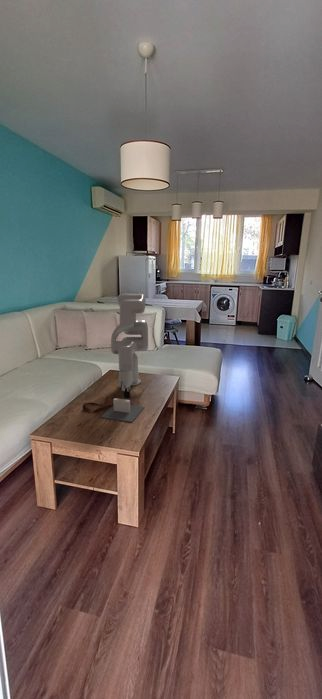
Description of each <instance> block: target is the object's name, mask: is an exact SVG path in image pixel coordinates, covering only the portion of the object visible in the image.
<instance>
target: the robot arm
mask: <svg viewBox="0 0 322 699" xmlns="http://www.w3.org/2000/svg"><path fill="white" fill-rule="evenodd" d="M117 304H118V306H119V324H118V325H117V326H116V328H115V329H114V330H113V331H112V333H111V340H110V350H111V353H112V354H113V355H118V388H119V389H120V388H121V392H123V399H129V398H131V387H132V386H137V385H140V383H141V382H142V380H141V378H139V376H140V373H139V357H138V355H137V353H136V352H146V351H148V349H149V326H148V322H147V321H146V320H143V319H137V315H139V314H140V315H141V314H143V313H145V311H146V310H145V309H146V296H145V294H143V293H121V294H119V295H118V296H117ZM121 333H124V335H128V336H125V337H123V338H122V340H117V339H118V336H120V335H121ZM133 335H134V336H133ZM135 335H136V336H135Z"/></svg>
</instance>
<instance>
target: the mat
mask: <svg viewBox="0 0 322 699" xmlns="http://www.w3.org/2000/svg"><path fill="white" fill-rule="evenodd" d="M130 409H131V411H130V412H129V413H127V412H120V411H114V405H113V406H110V407H108V409H107V410H106V411H105V412H103V414H102V415H101V416H100V419H105V420H112V421H119V422H126V423H131V424H133V422H134V421H135V420H136V418H138V417H139V415H140V414H141V413H142V412H143V410H144V409H145V406H141V405H133V404H130Z"/></svg>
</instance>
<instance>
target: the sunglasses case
mask: <svg viewBox="0 0 322 699" xmlns="http://www.w3.org/2000/svg"><path fill="white" fill-rule="evenodd" d="M113 405H114V404H113V399H112V398H111V397H110V395H108V396H105V397H101V398H98V399H96V400H93V401H90V402H86V403H84V404H83V405H82V410H83V411H84V412H86V413H88V414H94V413H97V412H100V411H101V410H105V409H107V408H110V407H112V406H113Z"/></svg>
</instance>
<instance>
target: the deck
mask: <svg viewBox="0 0 322 699" xmlns="http://www.w3.org/2000/svg"><path fill="white" fill-rule="evenodd" d="M112 401H113V404H114V411H120V412H127V413H129V412H130V411H131V409H130V405H131V399H126V398H116V397H115V398H113V399H112Z"/></svg>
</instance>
